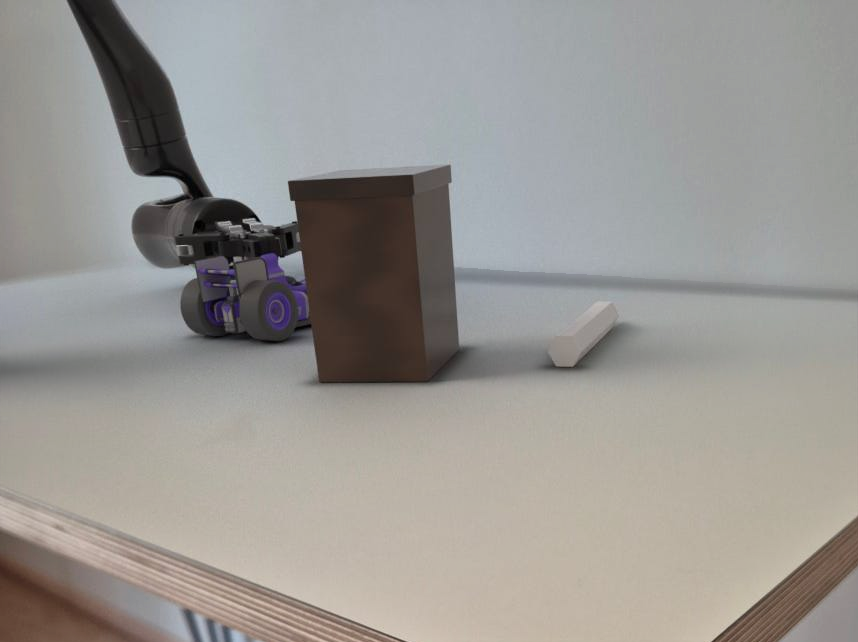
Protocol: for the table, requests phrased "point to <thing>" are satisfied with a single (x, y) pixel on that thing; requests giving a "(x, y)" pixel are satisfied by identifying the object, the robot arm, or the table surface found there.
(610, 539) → the table surface
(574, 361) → the grey hexagonal bar
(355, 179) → the brown lidded box
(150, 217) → the robot arm
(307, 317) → the toy race car
